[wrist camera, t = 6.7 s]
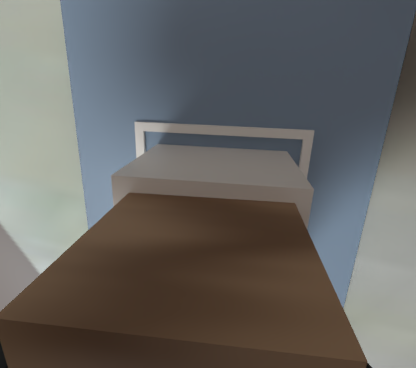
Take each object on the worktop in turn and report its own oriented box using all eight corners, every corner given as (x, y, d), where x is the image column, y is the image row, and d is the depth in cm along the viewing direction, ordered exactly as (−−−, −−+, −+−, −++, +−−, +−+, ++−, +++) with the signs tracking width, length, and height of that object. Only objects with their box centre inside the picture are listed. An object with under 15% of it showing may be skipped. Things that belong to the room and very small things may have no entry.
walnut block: (294, 202, 8) (367, 361, 3) (277, 334, 10) (309, 563, 5) (129, 192, 9) (-7, 318, 4) (139, 318, 10) (51, 514, 6)
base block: (286, 151, 13) (313, 189, 8) (272, 264, 15) (287, 347, 10) (157, 144, 13) (111, 175, 8) (160, 253, 15) (123, 327, 10)
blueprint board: (404, 4, 11) (422, -6, 10) (326, 343, 17) (332, 361, 16) (73, 2, 12) (56, -6, 11) (108, 317, 18) (99, 331, 17)
